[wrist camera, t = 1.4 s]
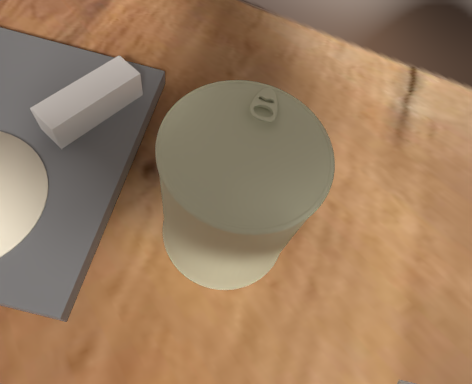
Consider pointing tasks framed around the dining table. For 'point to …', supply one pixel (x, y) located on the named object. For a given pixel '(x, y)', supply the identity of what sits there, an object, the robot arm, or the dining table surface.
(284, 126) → the can
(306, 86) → the dining table surface
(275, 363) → the dining table surface
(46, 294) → the coupling stand
